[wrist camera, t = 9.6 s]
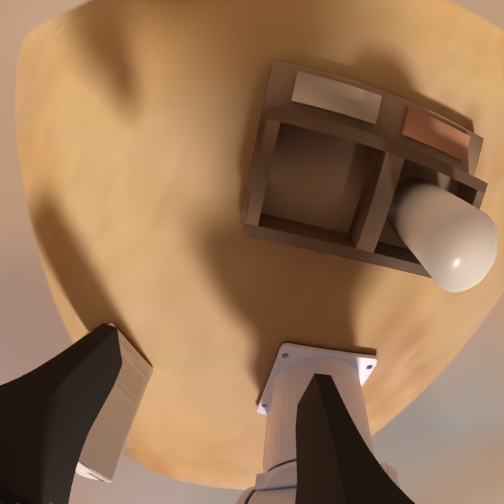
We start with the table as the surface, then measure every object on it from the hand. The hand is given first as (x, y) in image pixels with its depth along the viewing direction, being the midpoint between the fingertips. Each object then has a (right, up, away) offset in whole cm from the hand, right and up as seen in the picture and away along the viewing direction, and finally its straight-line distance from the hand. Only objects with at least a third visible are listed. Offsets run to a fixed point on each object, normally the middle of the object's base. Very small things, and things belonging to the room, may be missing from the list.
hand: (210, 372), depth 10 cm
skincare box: (-10, -4, +14) cm, 18 cm away
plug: (+11, +7, +5) cm, 14 cm away
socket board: (+8, +9, +5) cm, 13 cm away
